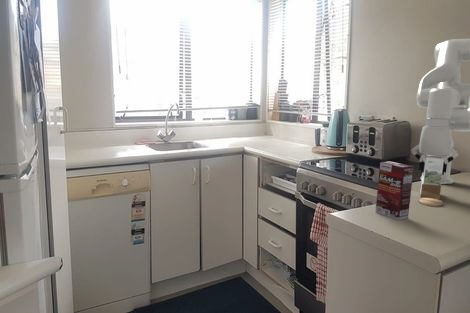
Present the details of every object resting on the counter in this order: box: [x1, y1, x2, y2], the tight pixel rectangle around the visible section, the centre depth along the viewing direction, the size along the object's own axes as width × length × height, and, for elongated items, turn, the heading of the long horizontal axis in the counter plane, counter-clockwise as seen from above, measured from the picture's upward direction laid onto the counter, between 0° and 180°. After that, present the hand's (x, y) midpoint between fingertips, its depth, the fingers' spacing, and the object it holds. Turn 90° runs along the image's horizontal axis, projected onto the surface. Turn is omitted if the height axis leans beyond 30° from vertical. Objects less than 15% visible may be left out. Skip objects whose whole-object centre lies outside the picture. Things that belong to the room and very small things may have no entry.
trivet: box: [418, 197, 443, 207], centre depth 132 cm, size 7×7×1 cm
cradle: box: [420, 184, 442, 200], centre depth 142 cm, size 10×6×5 cm, turn 155°
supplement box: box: [375, 160, 415, 221], centre depth 116 cm, size 9×5×16 cm, turn 29°
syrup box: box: [419, 155, 444, 194], centre depth 141 cm, size 6×6×14 cm
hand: (432, 172), depth 141 cm, fingers closed on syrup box, 6 cm apart
